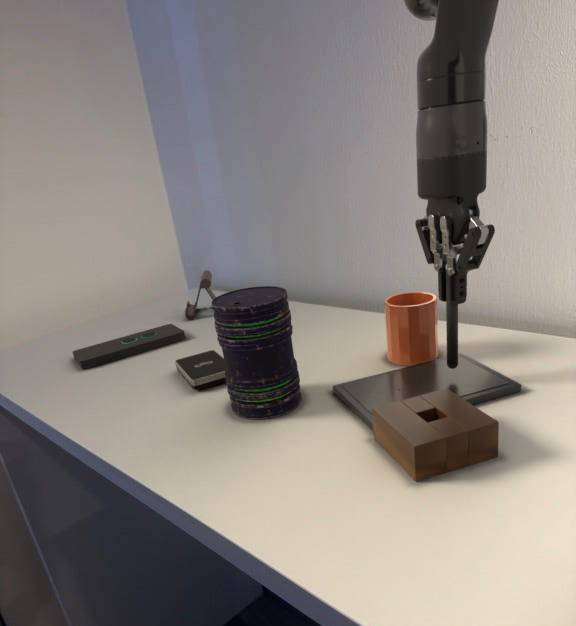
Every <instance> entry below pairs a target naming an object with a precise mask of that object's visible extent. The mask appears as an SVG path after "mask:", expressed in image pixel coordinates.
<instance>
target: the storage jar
mask: <svg viewBox="0 0 576 626" xmlns="http://www.w3.org/2000/svg"><path fill="white" fill-rule="evenodd" d="M288 298H289V296H288V291H287V288H284V287H281V286H275V285H263V286H252V287H246V288H239V289H236V290H232V291H228V292H225V293H221V294H220V295H218V296H216V298H215V299H213V300H212V299H211V303H210V304H211V309H212V311H213V320H214V323H213V324H214V328H215V329H214V330H215V332H216V336H217V339H216V340H217V342H218V345H219V346H220V347H221V351H222V357H223V358H224V362H225V367H226V370H225V377H226V382H225V383H226V391H227V394H228V395H229V400H230V402H231V403H230V405H231V410H232V413H233V414H234V415H236V416H237V417H239V418H243V419H248V420H267V419H272V418H277V417H281V416H283V415H286V414H288V413H290V412H292V411H293V410H295V409H297V408H298V406H300V404H301V402H302V393H301V391H300V390H301V383H300V382H301V379H300V378H301V377H300V372H299V367H298V362H297V359H296V357H295V353H294V346H293V339H292V336H293V328H294V327H293V324H292V314H291V313H292V312H291V309H290V305H289V300H288Z"/></svg>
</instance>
